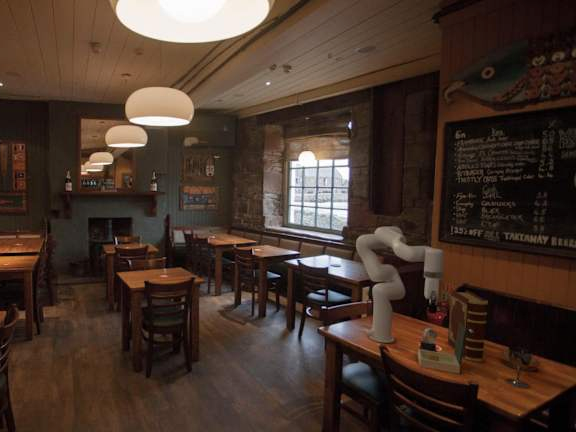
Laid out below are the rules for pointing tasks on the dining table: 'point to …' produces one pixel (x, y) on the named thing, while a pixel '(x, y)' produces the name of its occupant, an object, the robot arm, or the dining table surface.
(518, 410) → the dining table surface
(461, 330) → the book cover
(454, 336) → the decorative book
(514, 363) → the wine glass
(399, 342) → the dining table surface
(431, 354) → the paperweight
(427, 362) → the book
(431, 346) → the grey black upright piece
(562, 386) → the dining table surface
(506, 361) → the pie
